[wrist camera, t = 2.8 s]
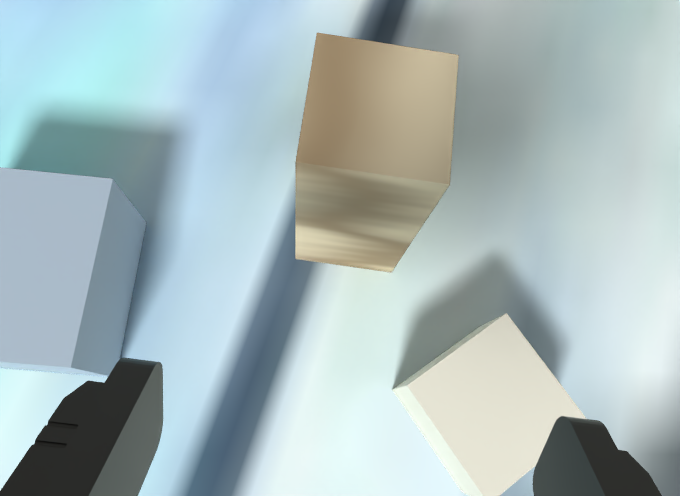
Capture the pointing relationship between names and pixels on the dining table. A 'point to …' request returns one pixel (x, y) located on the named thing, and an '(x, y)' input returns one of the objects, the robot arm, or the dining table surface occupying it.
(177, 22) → the dining table surface
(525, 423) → the cream block
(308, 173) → the oak block
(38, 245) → the blue base block
